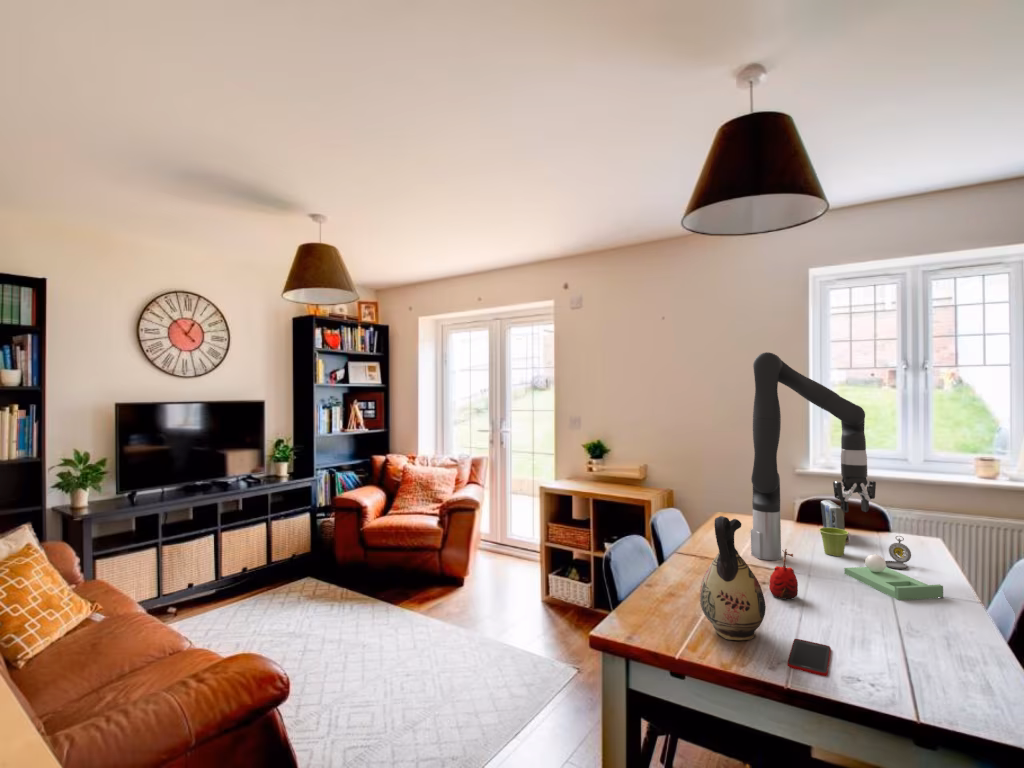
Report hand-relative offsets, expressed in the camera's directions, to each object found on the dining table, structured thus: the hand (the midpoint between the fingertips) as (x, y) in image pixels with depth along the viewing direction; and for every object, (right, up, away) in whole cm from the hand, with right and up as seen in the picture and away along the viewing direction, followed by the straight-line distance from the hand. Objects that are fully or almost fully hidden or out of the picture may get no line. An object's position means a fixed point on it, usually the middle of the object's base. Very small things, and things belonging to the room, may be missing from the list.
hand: (855, 511), depth 177 cm
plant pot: (+3, -20, +16) cm, 26 cm away
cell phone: (-49, -20, -58) cm, 78 cm away
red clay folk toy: (-36, -20, -23) cm, 47 cm away
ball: (+1, -15, -9) cm, 17 cm away
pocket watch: (+16, -20, +2) cm, 26 cm away
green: (+1, -19, -15) cm, 24 cm away
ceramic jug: (-62, -20, -46) cm, 79 cm away
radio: (+16, -20, +39) cm, 47 cm away
